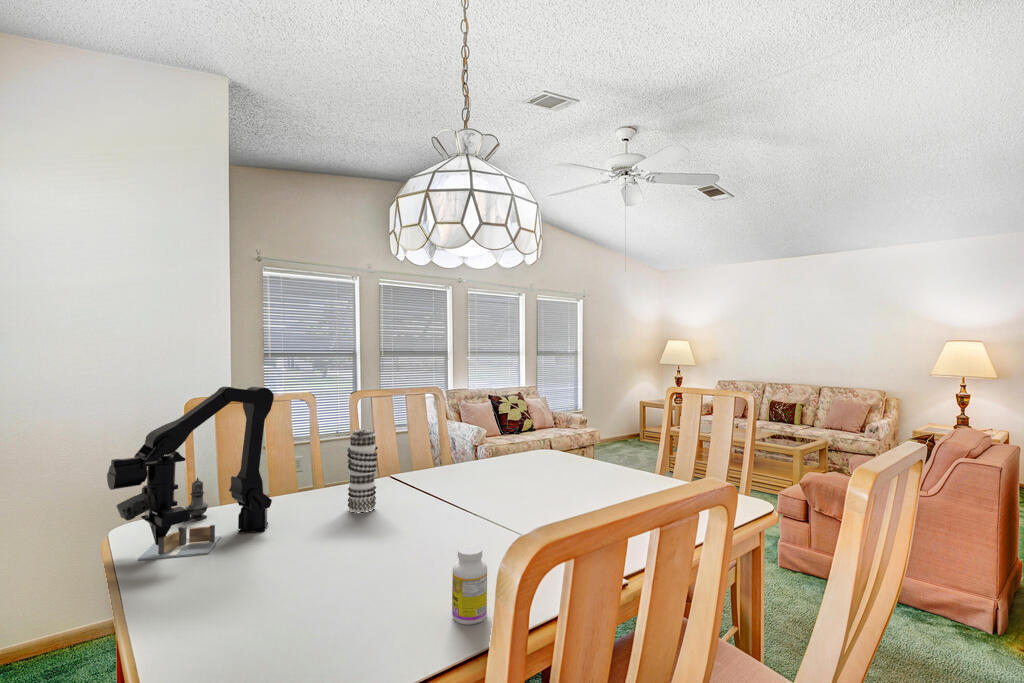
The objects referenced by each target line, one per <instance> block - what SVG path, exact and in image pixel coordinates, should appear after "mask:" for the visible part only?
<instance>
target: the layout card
mask: <svg viewBox="0 0 1024 683" xmlns="http://www.w3.org/2000/svg"><path fill="white" fill-rule="evenodd" d="M221 538H222V536H221V535H217V536H216V535H215V542H213V543H210V542H209V541H207V542H195V543H189V538H186V544H185V545H182V546H177V547H175V548H173V549H171V550H169V551H167V552H165V553H163V554H158V545H156V544H155V542H154V543H153V544H152V545H151V546H149V548H148V549H146V550H145V551H144V552H143V553H142V554H141V555H140V556H138V558H137V561H146V560H147V561H148V560H159V559H167V558H169V559H170V558H181V557H192V556H202V555H209V554H210V553H211V552H212V550H213V549H214V548H215V546H216V545H217V544H218V542H219V541H220V539H221Z"/></svg>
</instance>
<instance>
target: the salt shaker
mask: <svg viewBox="0 0 1024 683" xmlns="http://www.w3.org/2000/svg"><path fill="white" fill-rule="evenodd" d="M204 494H205V491H204V481H201V480H200V479H199V477H197V478H196V480H194V481H193V482H192V483H191V492H190V494H189V495H190V496H191V497H190V498H191V500H190V504H189V505H186V506H185V509H186V510H188V511H189V512H190V520H189V521H188V522H198V521H202V520H205V519H207V518H208V516H207V515H206V514H205V513H206V512H207V510H208V507H209V503H207V502H205V501H204Z"/></svg>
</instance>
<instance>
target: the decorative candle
mask: <svg viewBox="0 0 1024 683" xmlns="http://www.w3.org/2000/svg"><path fill="white" fill-rule="evenodd" d="M376 435H377V433H375V432H374V430H373V429H370V428H358V429H355V430H353V431H352V433H351V434H349V437H350V441H349V443H350V444H349V447H348V448H347V452H348V453H347V457H348V460H347V464H348V465H347V468H348V474H349V484H348V488H347V491H348V493H347V495H348V498H347V502H348V504H347V507H348V509H347V511H348V510H349V511H350V512H349V511H348V512H349V513H351V512H366V511H370V510H373V509H374V508H375V509H376V504H377V502H376V501H377V500H376V499H377V496H375V495H376V493H377V492H376V488H377V486H376V480H375V473H377V469H376V468H377V467H378V466H377V464H376V463H375V462H376V461H377V460H378V458H377V456H378V453H377V452H376V451H377V450H378V449H379V448H378V446H376Z"/></svg>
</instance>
